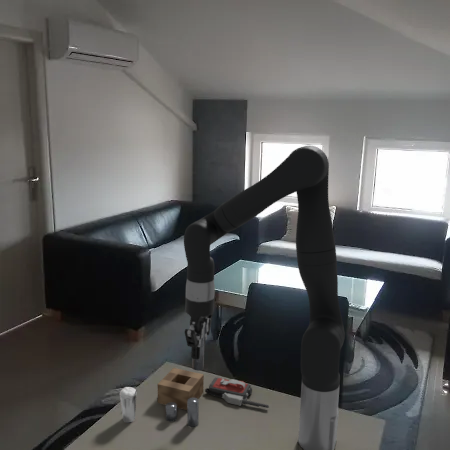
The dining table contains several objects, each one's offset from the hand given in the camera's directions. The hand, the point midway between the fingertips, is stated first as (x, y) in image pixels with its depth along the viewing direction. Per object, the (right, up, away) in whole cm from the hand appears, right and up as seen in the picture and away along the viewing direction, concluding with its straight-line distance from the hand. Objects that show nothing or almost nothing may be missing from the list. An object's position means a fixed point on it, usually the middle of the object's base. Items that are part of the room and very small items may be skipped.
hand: (198, 355), depth 131 cm
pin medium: (-1, -19, +1) cm, 19 cm away
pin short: (-8, -18, +3) cm, 20 cm away
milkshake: (-19, -18, +2) cm, 26 cm away
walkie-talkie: (+11, -17, +14) cm, 24 cm away
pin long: (0, -4, +1) cm, 4 cm away
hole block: (-6, -16, +13) cm, 21 cm away
